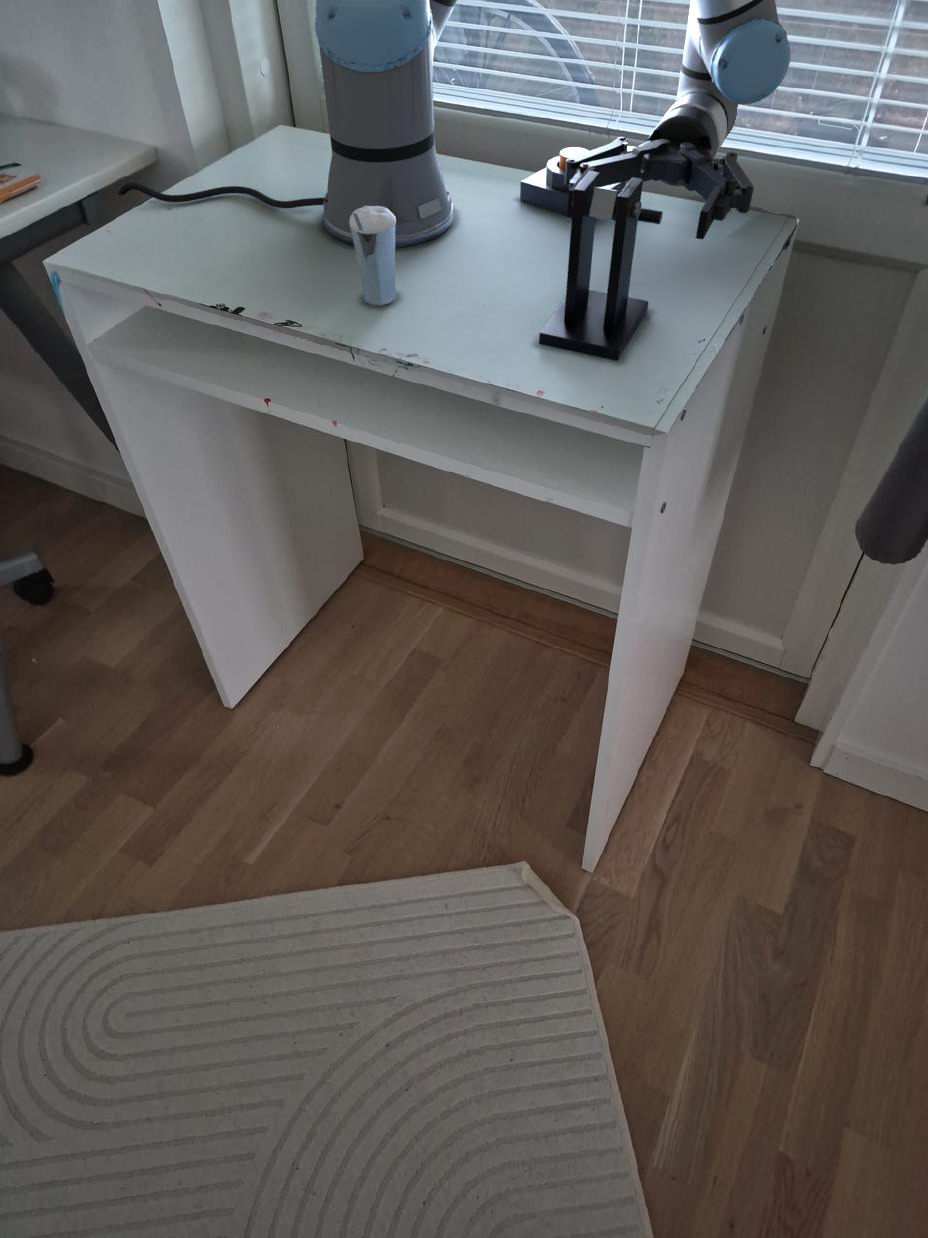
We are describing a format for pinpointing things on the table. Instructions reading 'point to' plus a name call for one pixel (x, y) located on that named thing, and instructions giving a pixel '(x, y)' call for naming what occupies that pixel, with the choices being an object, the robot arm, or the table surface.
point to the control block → (552, 187)
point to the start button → (569, 155)
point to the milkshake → (375, 252)
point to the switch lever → (607, 205)
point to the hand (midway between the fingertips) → (635, 214)
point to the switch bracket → (585, 313)
